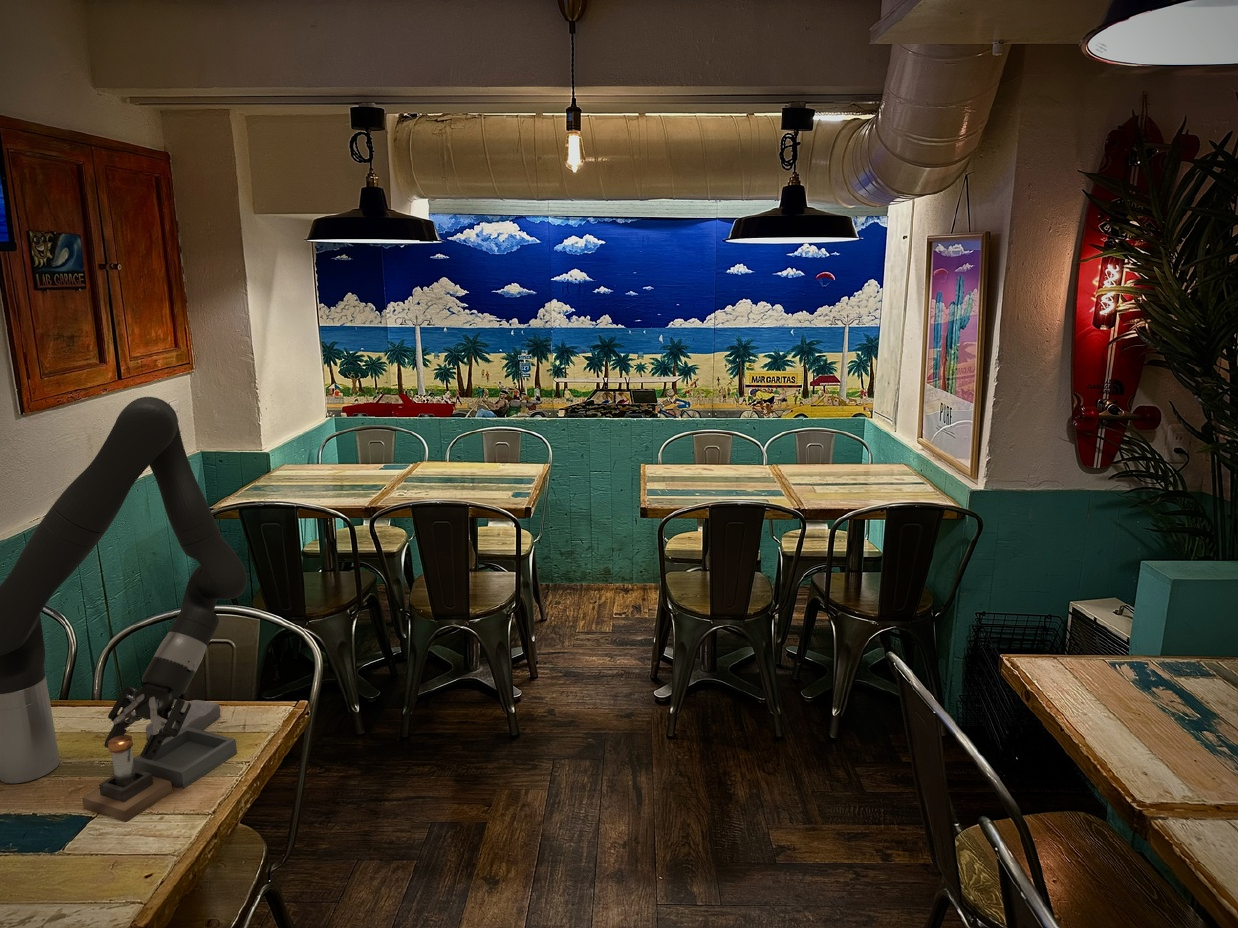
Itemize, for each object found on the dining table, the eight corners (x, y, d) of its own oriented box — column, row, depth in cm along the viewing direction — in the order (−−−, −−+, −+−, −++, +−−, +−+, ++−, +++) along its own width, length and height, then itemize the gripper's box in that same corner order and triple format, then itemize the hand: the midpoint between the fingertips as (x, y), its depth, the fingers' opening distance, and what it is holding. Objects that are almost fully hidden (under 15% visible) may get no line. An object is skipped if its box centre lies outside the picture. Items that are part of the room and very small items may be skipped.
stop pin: (110, 792, 148) (102, 743, 146) (129, 781, 151) (121, 733, 149) (125, 797, 146) (118, 747, 144) (144, 785, 149) (137, 737, 147)
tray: (134, 773, 157) (132, 758, 156) (189, 740, 167) (187, 726, 167) (183, 788, 152) (181, 772, 152) (237, 753, 163) (235, 738, 162)
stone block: (143, 750, 168) (187, 745, 166) (136, 727, 167) (180, 722, 165) (184, 721, 179) (226, 717, 177) (178, 699, 179) (220, 694, 177)
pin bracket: (83, 808, 147) (80, 786, 146) (131, 779, 155) (128, 759, 154) (126, 821, 143) (123, 799, 142) (172, 791, 151) (169, 770, 150)
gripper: (131, 649, 155) (81, 739, 148) (191, 661, 150) (142, 755, 142) (160, 664, 161) (113, 751, 154) (219, 676, 156) (173, 768, 148)
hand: (127, 753), depth 148 cm, fingers open, 8 cm apart
